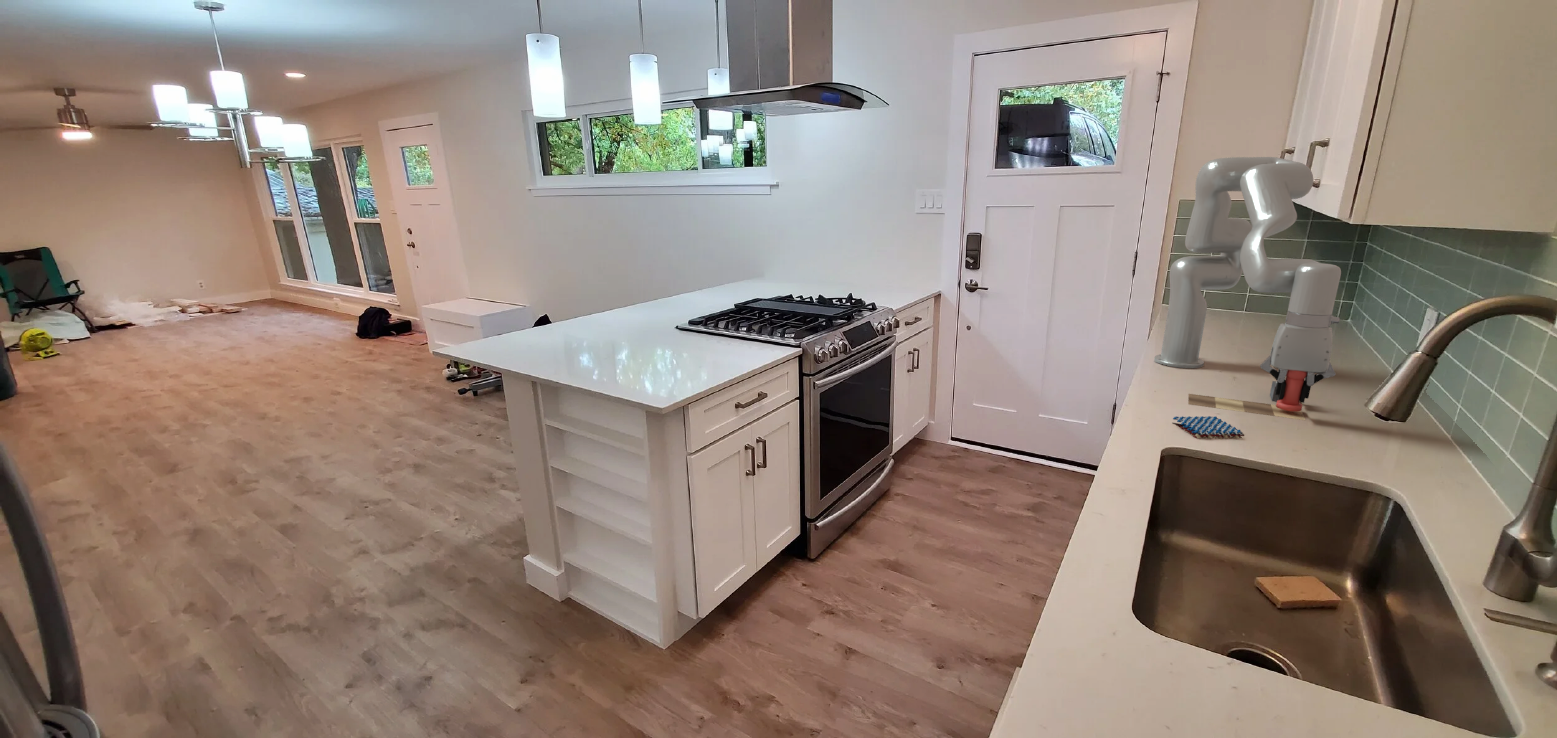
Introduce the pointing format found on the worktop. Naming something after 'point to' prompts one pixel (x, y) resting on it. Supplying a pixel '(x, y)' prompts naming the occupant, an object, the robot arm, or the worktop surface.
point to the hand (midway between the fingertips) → (1290, 398)
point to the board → (1243, 406)
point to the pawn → (1292, 391)
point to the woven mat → (1207, 428)
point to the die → (1273, 392)
